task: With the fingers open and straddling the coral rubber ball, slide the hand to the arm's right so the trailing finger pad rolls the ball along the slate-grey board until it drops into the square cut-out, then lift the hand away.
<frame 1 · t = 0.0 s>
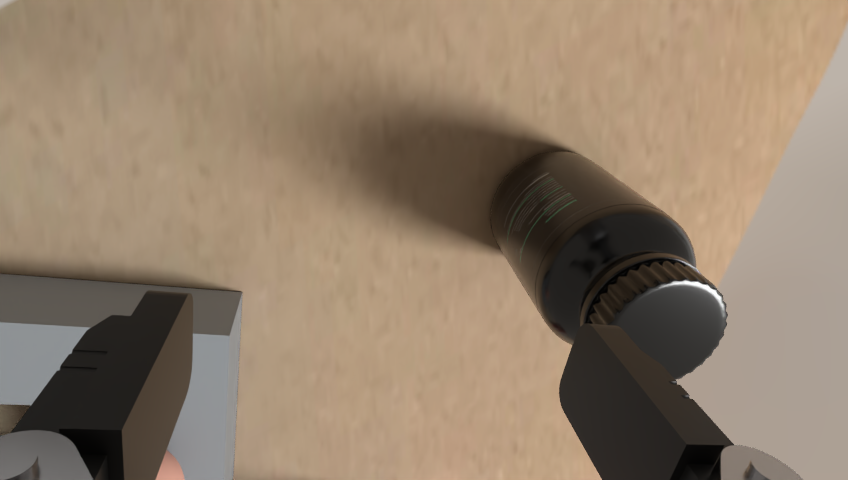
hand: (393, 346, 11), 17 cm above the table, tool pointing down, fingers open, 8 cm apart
grey block with recess: (82, 399, 31), on the table
supplement bottle: (546, 206, 30), on the table
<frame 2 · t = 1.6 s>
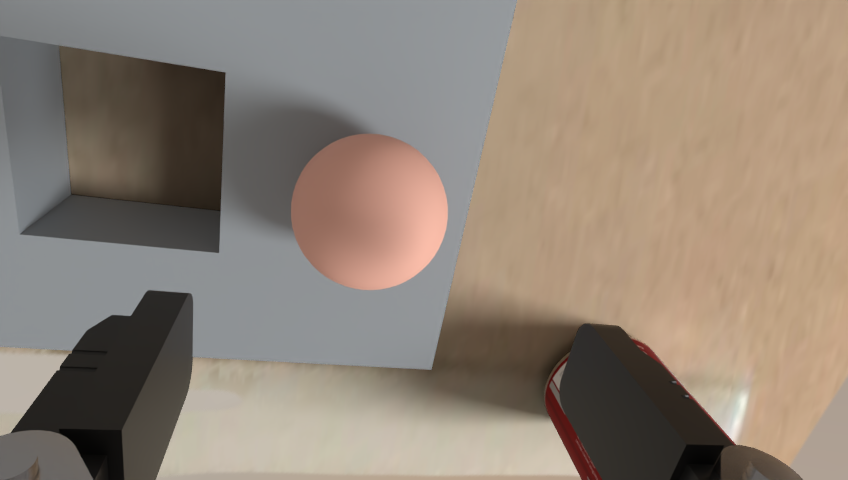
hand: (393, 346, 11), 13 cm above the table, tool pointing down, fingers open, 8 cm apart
soda can: (594, 375, 31), on the table
grey block with recess: (253, 141, 22), on the table
ball: (370, 212, 17), point 6 cm above the table, touching grey block with recess
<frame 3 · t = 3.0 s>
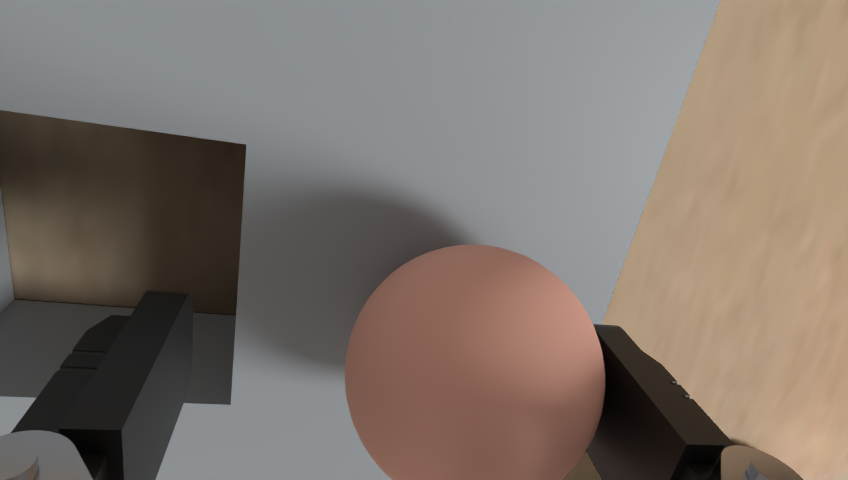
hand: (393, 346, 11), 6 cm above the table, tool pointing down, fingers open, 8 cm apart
grey block with recess: (277, 222, 15), on the table
ball: (472, 370, 11), point 6 cm above the table, touching grey block with recess, gripper
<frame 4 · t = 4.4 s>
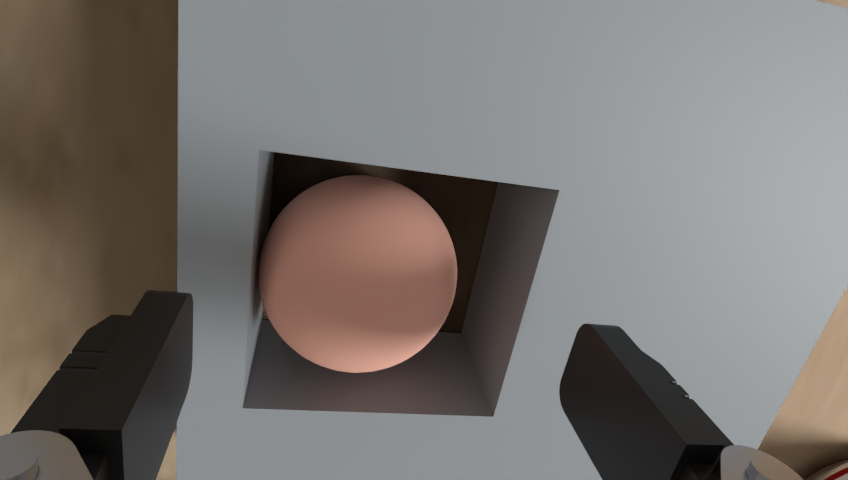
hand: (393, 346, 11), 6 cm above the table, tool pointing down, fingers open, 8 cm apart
grey block with recess: (497, 248, 17), on the table
ball: (360, 272, 14), point 2 cm above the table, tilted 131°
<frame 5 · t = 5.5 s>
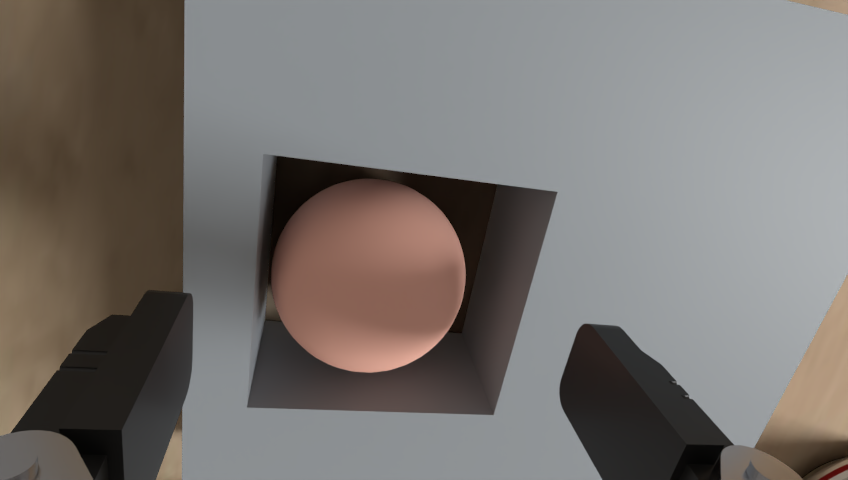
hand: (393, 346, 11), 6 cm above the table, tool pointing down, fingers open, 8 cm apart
grey block with recess: (496, 248, 17), on the table
ball: (370, 274, 14), point 2 cm above the table, tilted 136°
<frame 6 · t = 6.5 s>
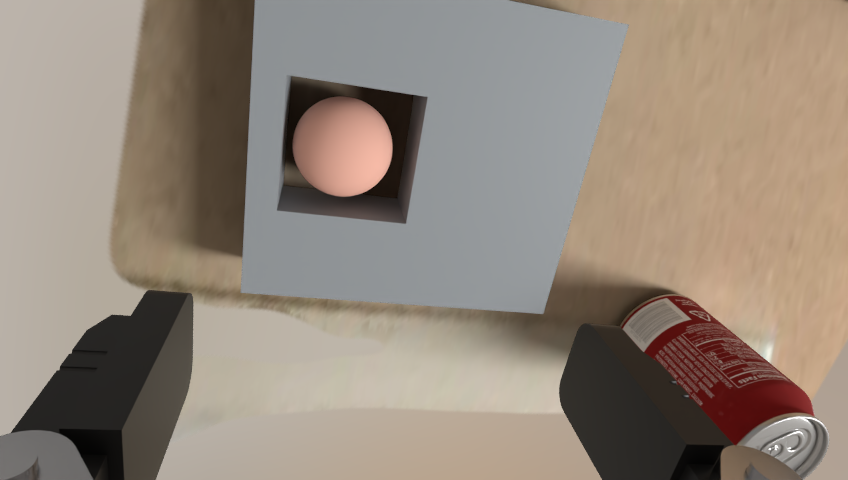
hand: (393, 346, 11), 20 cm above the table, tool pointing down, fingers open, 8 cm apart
soda can: (652, 328, 39), on the table
grey block with recess: (414, 145, 30), on the table
ball: (343, 147, 27), point 2 cm above the table, tilted 140°
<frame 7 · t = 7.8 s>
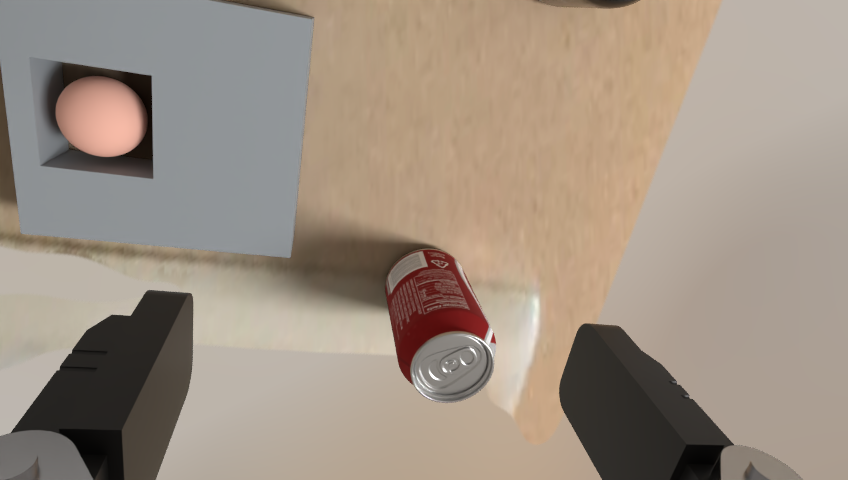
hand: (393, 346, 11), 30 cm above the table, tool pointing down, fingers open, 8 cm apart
soda can: (423, 279, 45), on the table
grey block with recess: (177, 117, 37), on the table
ball: (103, 117, 34), point 2 cm above the table, tilted 146°
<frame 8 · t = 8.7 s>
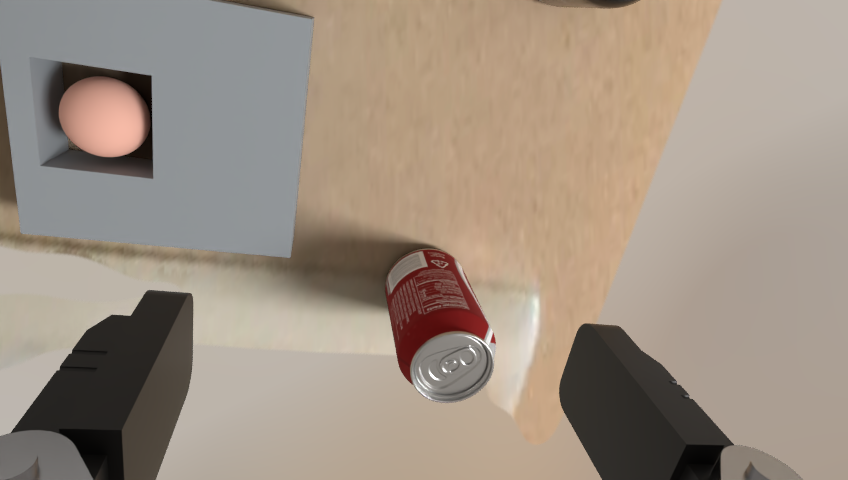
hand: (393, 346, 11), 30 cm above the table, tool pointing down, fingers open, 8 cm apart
soda can: (423, 279, 45), on the table
grey block with recess: (177, 117, 37), on the table
ball: (106, 117, 34), point 2 cm above the table, tilted 150°
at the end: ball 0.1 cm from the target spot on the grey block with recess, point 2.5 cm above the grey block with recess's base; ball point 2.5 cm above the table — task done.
